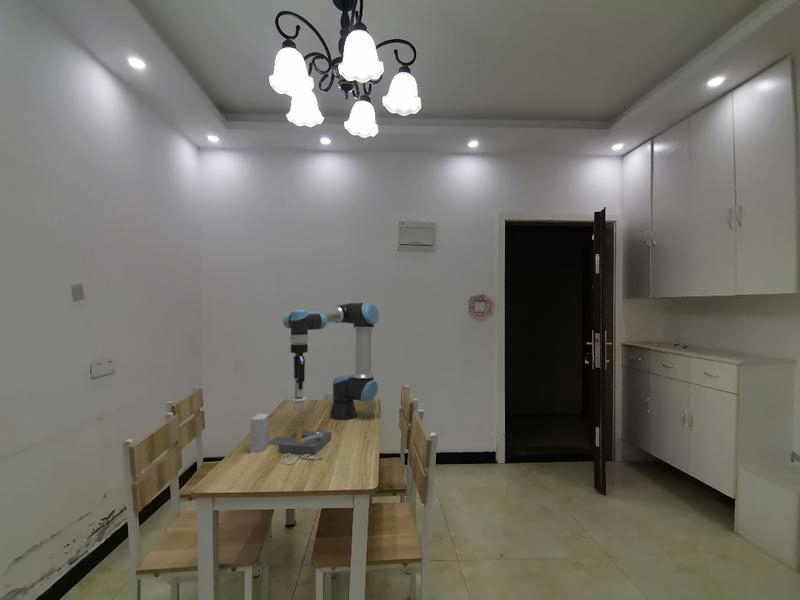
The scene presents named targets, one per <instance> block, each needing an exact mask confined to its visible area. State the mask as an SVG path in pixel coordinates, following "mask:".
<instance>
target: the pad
mask: <svg viewBox="0 0 800 600" xmlns="http://www.w3.org/2000/svg"><path fill="white" fill-rule="evenodd" d="M287 438H288V437H284V436H283V437H282V436H275V437H273V438H272V439H271V440H269V446H270V445H272V446H279V444H281V443H282V442H283V441H285V440H286V439H287Z"/></svg>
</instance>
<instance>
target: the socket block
mask: <svg viewBox="0 0 800 600" xmlns="http://www.w3.org/2000/svg"><path fill="white" fill-rule="evenodd" d="M315 431H316V430H303V429H302V438H305V437H308V436H312V435H315ZM320 431H321V432H322V433H323V436H320V437H316V438H313V439H310V440H306V441H303V442H300V443H298V442H296V432H294V433H293V434H292V435H290V436H289V437H287V439H286V440H285V441H283V442H282V443H281V444H279V445H278V453H279V454H287V453H291V454H290V455H302V454H312V455H311V456H316V455H317V454H318V453H319V452H320V451H321V450H322V449H323V448H324V447H325V446H326V445H328V444H329V442H331V440H332V432H331V431H322V430H320Z"/></svg>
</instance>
